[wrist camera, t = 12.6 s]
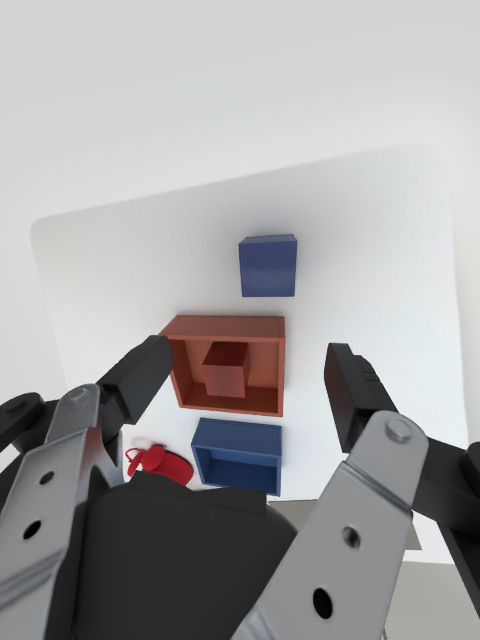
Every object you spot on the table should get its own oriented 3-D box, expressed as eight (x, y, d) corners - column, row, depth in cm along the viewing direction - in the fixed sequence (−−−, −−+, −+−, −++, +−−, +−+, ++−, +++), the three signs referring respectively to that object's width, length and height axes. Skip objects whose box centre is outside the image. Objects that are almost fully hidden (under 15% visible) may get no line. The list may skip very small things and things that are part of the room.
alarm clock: (168, 504, 44) (100, 487, 38) (175, 470, 49) (117, 449, 43) (201, 497, 40) (132, 476, 33) (206, 460, 45) (147, 435, 38)
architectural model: (267, 502, 44) (263, 614, 32) (403, 496, 36) (468, 648, 23) (302, 545, 51) (309, 651, 39) (422, 550, 43) (479, 687, 31)
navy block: (248, 281, 22) (242, 297, 19) (246, 237, 20) (238, 243, 17) (291, 280, 22) (294, 296, 18) (293, 234, 20) (297, 240, 16)
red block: (217, 369, 28) (207, 395, 25) (212, 341, 26) (201, 364, 22) (250, 371, 28) (245, 398, 24) (248, 342, 26) (242, 367, 22)
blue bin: (209, 457, 40) (202, 484, 36) (200, 417, 35) (190, 444, 31) (280, 466, 38) (280, 497, 34) (281, 426, 32) (281, 456, 28)
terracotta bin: (192, 382, 31) (179, 407, 27) (176, 315, 26) (157, 334, 22) (282, 389, 29) (282, 417, 25) (284, 316, 24) (285, 337, 20)
